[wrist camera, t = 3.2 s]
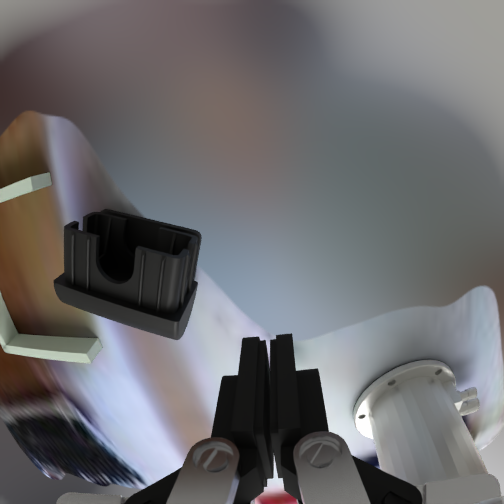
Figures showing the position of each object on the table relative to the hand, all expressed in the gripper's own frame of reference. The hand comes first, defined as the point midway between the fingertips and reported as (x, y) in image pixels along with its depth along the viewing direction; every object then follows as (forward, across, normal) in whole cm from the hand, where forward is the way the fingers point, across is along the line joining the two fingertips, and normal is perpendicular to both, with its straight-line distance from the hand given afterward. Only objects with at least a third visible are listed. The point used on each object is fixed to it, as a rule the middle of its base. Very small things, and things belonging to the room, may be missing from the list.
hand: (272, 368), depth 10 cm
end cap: (+15, +11, +1) cm, 18 cm away
